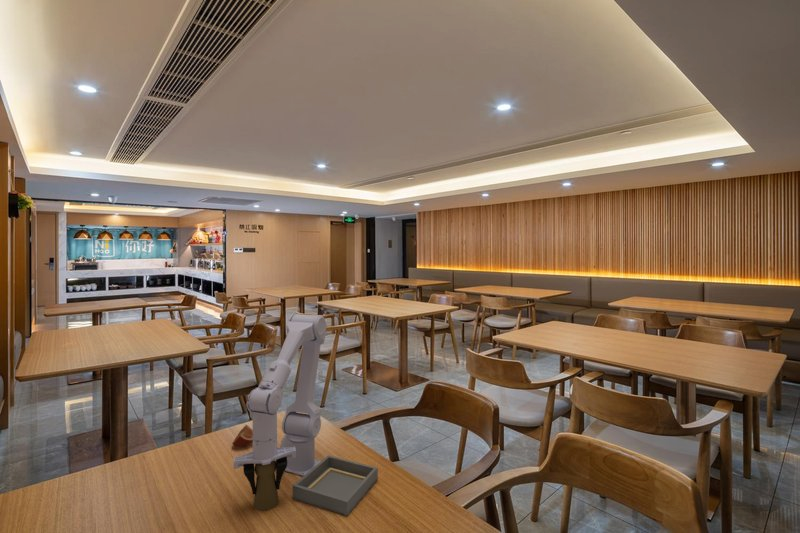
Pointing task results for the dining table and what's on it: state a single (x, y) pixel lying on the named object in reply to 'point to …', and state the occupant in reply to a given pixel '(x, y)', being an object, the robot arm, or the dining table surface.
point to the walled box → (335, 484)
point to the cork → (265, 487)
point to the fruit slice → (244, 437)
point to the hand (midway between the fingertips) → (265, 489)
